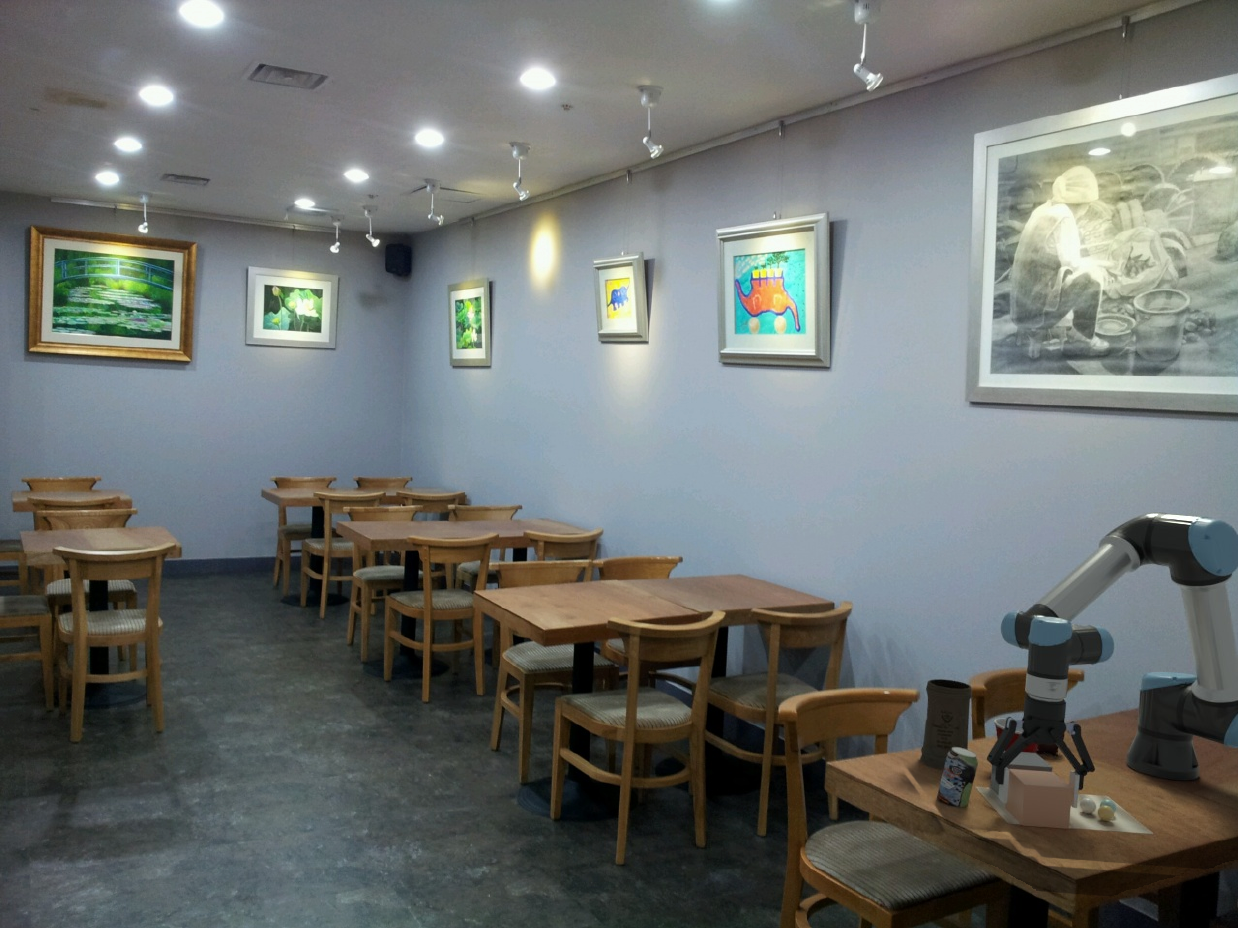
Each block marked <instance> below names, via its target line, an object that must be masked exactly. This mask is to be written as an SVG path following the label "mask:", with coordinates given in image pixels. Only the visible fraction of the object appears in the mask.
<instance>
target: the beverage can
mask: <svg viewBox="0 0 1238 928" xmlns="http://www.w3.org/2000/svg"><path fill="white" fill-rule="evenodd" d="M977 757H978V756H977V754H976V753H975V752H974V751H972V750H969V749H968V750H967V749H964V748H959V747H953V748H952V750H951V751H949V752H948V754H947V758H946V762H945V766H944V770H942V774H941V779H940V783H939V787H938V792H937V794H936V798H937V800H938V801H939V802H940V803H942V804H944V805H946V806H950V807H953V808H963V807H965V808H966V807H967V806H968V805H969V801H970V797H971V794H972V790H973V785H974V781H975V778H976V777H975V776H976V773H977V770H978V765H979V761H978V759H977Z"/></svg>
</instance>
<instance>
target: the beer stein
mask: <svg viewBox="0 0 1238 928" xmlns="http://www.w3.org/2000/svg"><path fill="white" fill-rule="evenodd" d="M925 691H926V695H927V696H926V697H927V707H926V719H925V724H924V734H923V735H924V737H923V742H922V747H921V750H920V752H921V755H920V758H919V761H920V762H921V763H922V765H925V766H927V767H929V768H931V769H932V768H933V769H935V770H936V769H937V770H942V771H943V770H944V766H945V762H946V758H947V754H948V752H949V751H951V750H952V748H953V747H959V748H964V749H967V750H969V749H968V748H969V745H968V744H969V721H970V707H971V706H970V703H971V699H972V698H973V692H972V691H973V689H972V686H971V685H970V684H967V683H966V682H963V681H959V680H952V679H944V678H943V679H941V678H940V679H938V678H937V679H934V678H933V679H930V680H928V681H927V684H926V687H925Z"/></svg>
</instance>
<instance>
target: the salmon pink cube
mask: <svg viewBox="0 0 1238 928" xmlns="http://www.w3.org/2000/svg"><path fill="white" fill-rule="evenodd" d="M1071 796H1072V788H1071V787H1070V786H1069V783H1067V782H1066V781H1065V780H1063V779H1062V778H1061V777H1060V776H1059V775H1058V774H1056V772H1054V771H1052V772H1046V771H1032V770H1018V769H1009V783H1008V796H1007V803H1006V809H1007V810H1008V811H1009V812H1010V813H1011V814H1012V815H1013V816H1014V818H1015V819H1016V820H1017V821H1018V822H1019V823H1020V824H1021V825H1020V824H1019V825H1020V826H1025V827H1026V826H1027V827H1039V828H1051V829H1054V828H1055V829H1068V830H1069V829H1070V828H1069V822H1070V809H1071Z"/></svg>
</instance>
